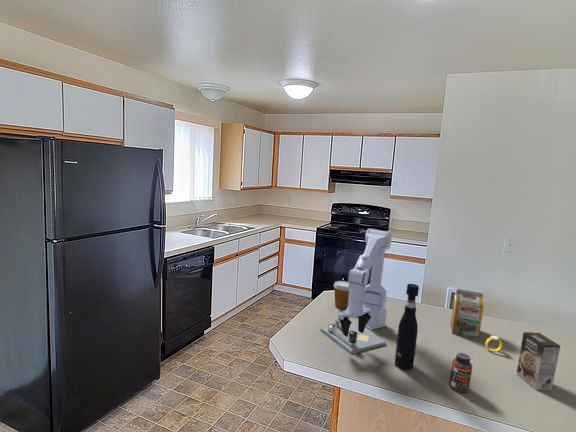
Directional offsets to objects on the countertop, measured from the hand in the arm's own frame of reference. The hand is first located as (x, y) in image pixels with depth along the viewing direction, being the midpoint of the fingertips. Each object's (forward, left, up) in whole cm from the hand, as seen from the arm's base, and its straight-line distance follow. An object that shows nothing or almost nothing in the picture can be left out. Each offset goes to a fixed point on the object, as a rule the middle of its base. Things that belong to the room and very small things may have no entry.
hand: (353, 333), depth 135 cm
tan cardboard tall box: (-58, +8, -6) cm, 59 cm away
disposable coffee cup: (-22, -35, -6) cm, 42 cm away
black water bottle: (-10, +17, -6) cm, 21 cm away
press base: (-6, -7, -6) cm, 11 cm away
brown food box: (-45, +43, -6) cm, 63 cm away
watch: (-53, +24, -6) cm, 59 cm away
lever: (0, -7, -5) cm, 8 cm away
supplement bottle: (-17, +34, -6) cm, 38 cm away
